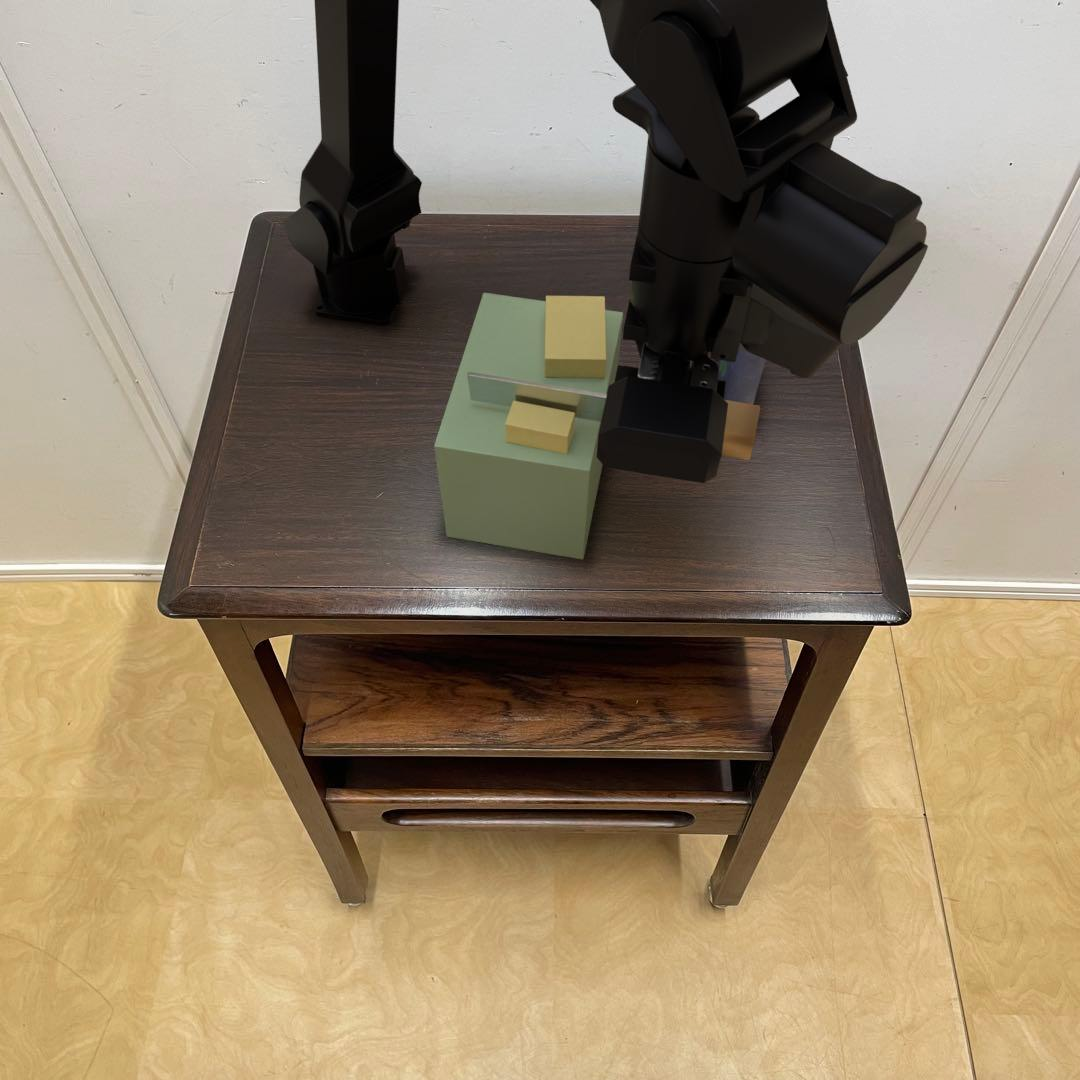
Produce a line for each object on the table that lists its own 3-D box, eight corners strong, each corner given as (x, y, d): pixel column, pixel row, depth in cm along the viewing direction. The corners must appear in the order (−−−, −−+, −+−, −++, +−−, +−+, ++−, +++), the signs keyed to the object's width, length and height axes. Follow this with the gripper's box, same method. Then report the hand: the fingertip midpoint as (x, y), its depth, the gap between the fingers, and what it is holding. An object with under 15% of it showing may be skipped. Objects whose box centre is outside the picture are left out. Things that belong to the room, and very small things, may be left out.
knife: (754, 430, 62) (760, 405, 60) (749, 460, 61) (755, 435, 59) (476, 384, 65) (472, 359, 63) (466, 412, 63) (462, 387, 61)
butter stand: (446, 537, 72) (433, 445, 63) (489, 391, 79) (483, 292, 70) (583, 560, 71) (590, 470, 62) (613, 411, 78) (623, 311, 69)
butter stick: (544, 377, 66) (544, 358, 64) (545, 314, 69) (545, 295, 68) (604, 378, 66) (606, 359, 64) (603, 315, 69) (604, 295, 68)
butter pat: (505, 442, 63) (504, 424, 61) (513, 418, 64) (513, 400, 63) (567, 454, 62) (567, 436, 61) (574, 430, 64) (575, 412, 62)
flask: (749, 432, 77) (777, 332, 68) (711, 427, 77) (734, 327, 68) (753, 345, 82) (779, 241, 73) (717, 341, 82) (739, 238, 73)
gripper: (860, 391, 43) (783, 575, 56) (868, 127, 53) (801, 337, 66) (604, 353, 44) (588, 542, 57) (659, 101, 54) (634, 312, 67)
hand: (662, 426), depth 62 cm, fingers closed on knife, 2 cm apart
